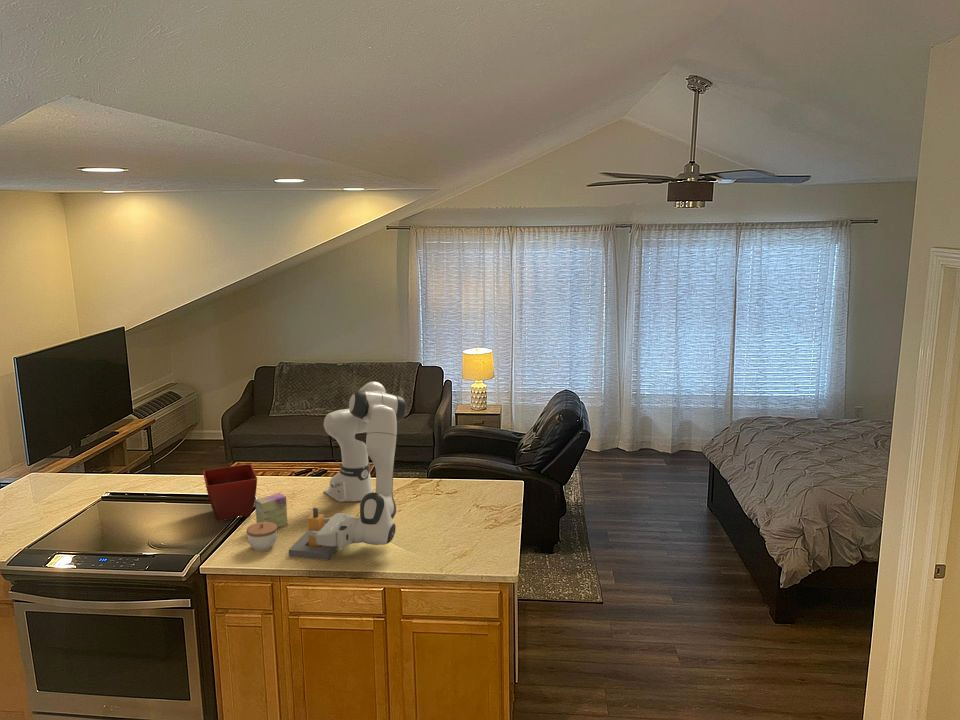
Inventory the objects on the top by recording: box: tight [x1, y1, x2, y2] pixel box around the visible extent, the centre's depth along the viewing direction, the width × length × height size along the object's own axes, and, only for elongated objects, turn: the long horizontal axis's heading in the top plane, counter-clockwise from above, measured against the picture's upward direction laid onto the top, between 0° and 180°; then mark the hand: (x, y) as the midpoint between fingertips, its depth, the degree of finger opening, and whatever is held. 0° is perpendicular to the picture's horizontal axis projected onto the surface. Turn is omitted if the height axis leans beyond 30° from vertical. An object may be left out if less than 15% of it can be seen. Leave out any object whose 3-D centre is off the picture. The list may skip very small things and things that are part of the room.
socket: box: [288, 531, 339, 561], centre depth 266 cm, size 15×15×2 cm
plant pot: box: [202, 463, 258, 521], centre depth 296 cm, size 19×19×17 cm
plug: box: [307, 507, 325, 547], centre depth 265 cm, size 4×4×15 cm
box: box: [254, 492, 288, 529], centre depth 284 cm, size 10×6×12 cm, turn 134°
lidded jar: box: [246, 522, 278, 552], centre depth 267 cm, size 11×11×9 cm
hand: (313, 526), depth 265 cm, fingers open, 8 cm apart
